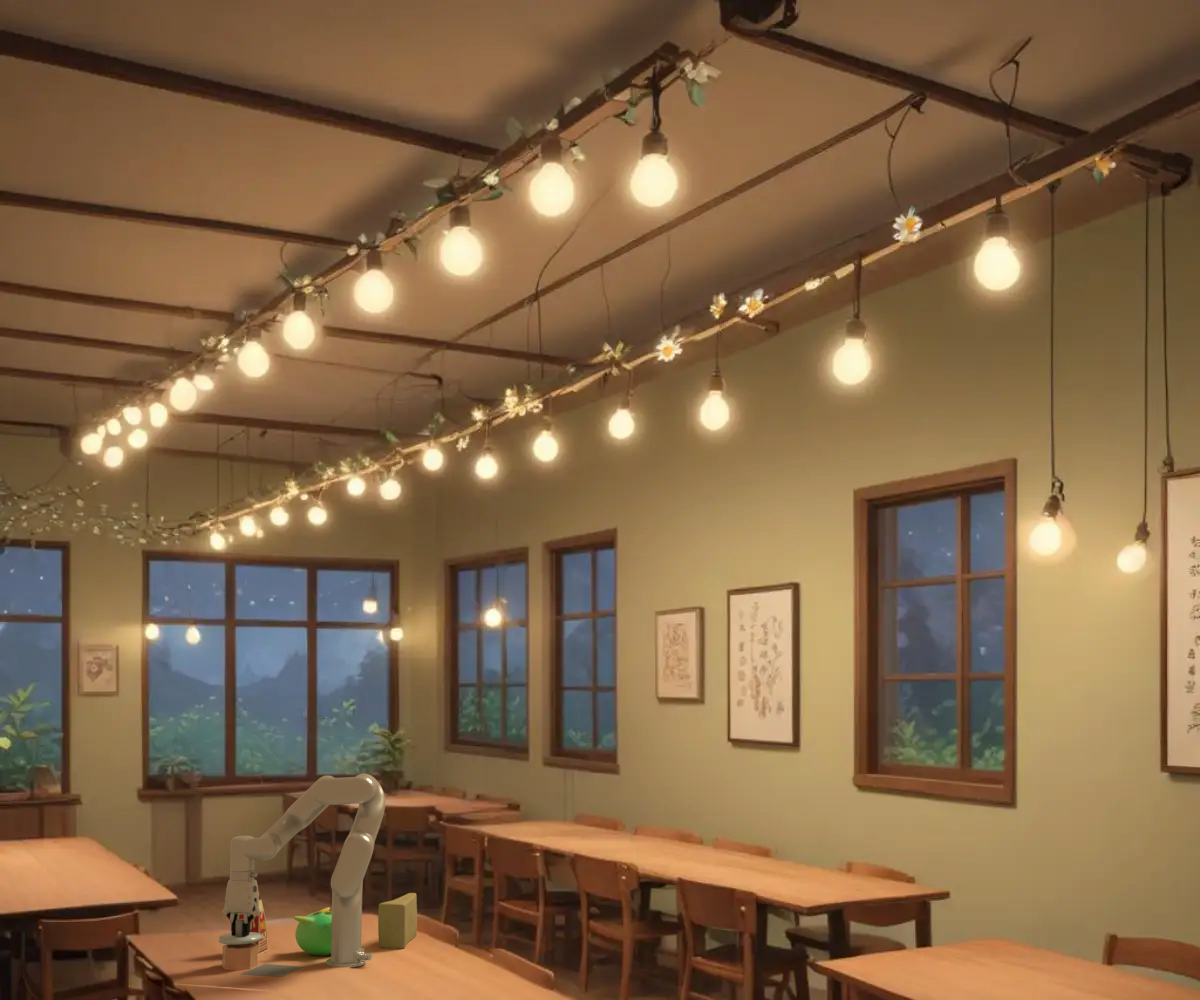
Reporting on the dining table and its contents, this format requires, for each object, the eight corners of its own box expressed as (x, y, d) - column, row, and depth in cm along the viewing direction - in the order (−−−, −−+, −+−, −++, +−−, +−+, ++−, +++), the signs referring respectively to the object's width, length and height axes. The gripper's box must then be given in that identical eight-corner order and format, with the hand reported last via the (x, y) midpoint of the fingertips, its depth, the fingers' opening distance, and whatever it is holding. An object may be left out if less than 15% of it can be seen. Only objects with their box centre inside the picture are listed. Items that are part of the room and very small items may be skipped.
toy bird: (356, 949, 442) (356, 904, 444) (341, 961, 425) (342, 914, 427) (303, 949, 444) (304, 904, 445) (287, 960, 427) (288, 913, 429)
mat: (303, 968, 415) (303, 966, 415) (280, 978, 402) (280, 976, 402) (264, 965, 419) (264, 963, 419) (240, 975, 406) (240, 973, 406)
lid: (269, 937, 422) (269, 917, 422) (247, 945, 409) (247, 924, 410) (233, 934, 425) (234, 915, 426) (210, 943, 413) (211, 922, 414)
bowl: (262, 965, 420) (262, 943, 420) (244, 972, 410) (245, 949, 411) (234, 963, 423) (235, 941, 423) (216, 970, 413) (217, 947, 414)
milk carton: (268, 951, 441) (269, 889, 443) (258, 957, 432) (260, 894, 434) (242, 950, 442) (243, 889, 444) (231, 956, 433) (233, 894, 435)
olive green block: (401, 934, 466) (402, 891, 468) (427, 936, 464) (428, 892, 466) (377, 948, 445) (377, 902, 446) (404, 949, 442) (404, 903, 444)
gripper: (271, 875, 421) (269, 934, 419) (226, 873, 426) (224, 931, 424) (258, 878, 414) (256, 939, 412) (212, 876, 419) (211, 936, 416)
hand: (240, 934), depth 418 cm, fingers closed on lid, 3 cm apart
